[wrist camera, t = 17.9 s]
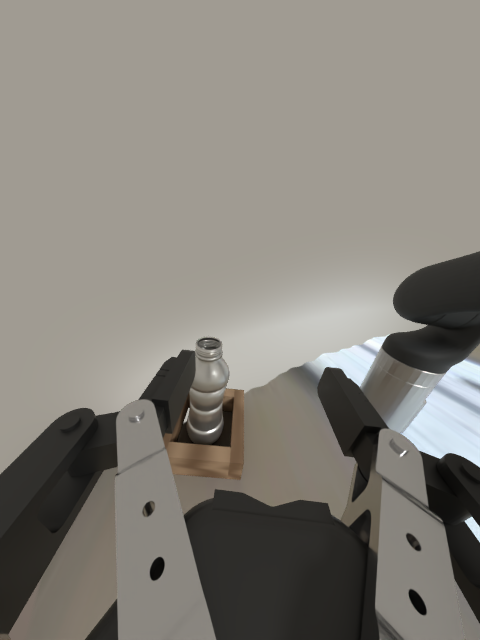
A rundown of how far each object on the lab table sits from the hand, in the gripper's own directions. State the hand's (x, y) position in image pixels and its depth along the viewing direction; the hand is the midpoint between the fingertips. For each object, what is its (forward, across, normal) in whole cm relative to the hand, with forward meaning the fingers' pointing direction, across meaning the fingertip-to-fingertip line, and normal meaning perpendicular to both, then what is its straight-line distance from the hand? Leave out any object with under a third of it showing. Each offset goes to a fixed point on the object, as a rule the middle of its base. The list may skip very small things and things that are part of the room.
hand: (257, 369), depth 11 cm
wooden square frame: (+12, +6, +27) cm, 30 cm away
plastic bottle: (+11, +6, +27) cm, 30 cm away
